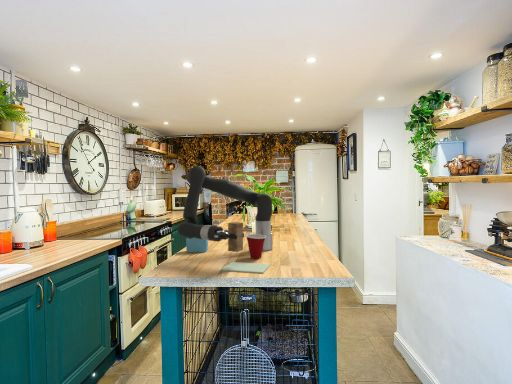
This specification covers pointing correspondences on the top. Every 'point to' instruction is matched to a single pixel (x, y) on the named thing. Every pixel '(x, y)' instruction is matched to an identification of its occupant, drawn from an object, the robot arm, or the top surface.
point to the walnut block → (237, 229)
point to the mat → (246, 267)
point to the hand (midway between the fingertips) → (240, 236)
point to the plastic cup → (255, 245)
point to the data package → (196, 245)
